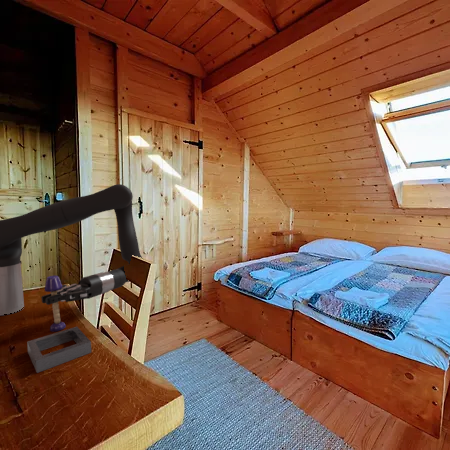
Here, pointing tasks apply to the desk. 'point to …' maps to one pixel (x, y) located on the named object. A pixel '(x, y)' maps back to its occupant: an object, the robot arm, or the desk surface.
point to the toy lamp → (53, 286)
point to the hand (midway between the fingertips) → (44, 300)
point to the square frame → (60, 355)
